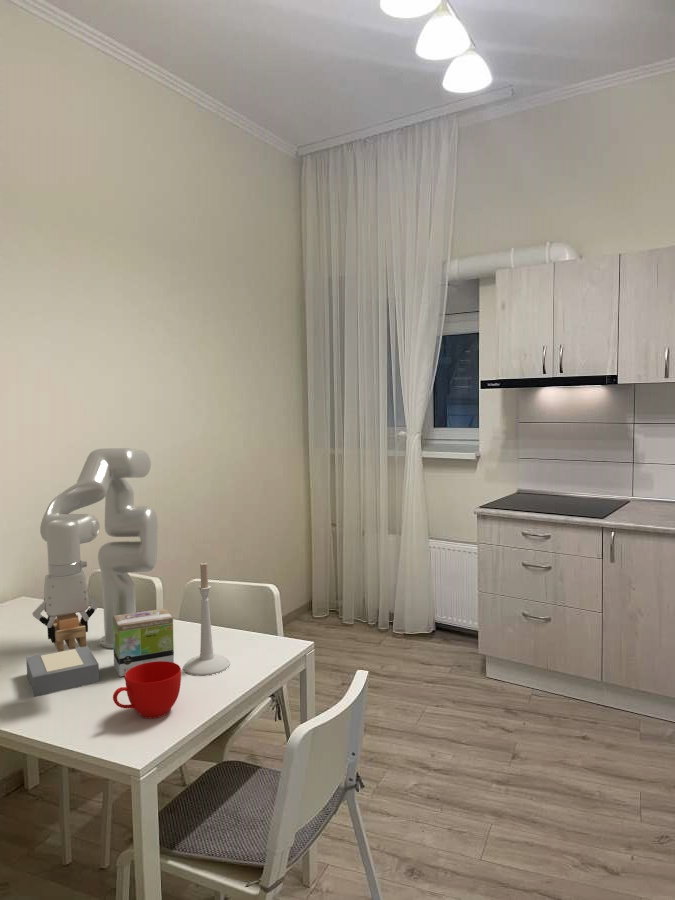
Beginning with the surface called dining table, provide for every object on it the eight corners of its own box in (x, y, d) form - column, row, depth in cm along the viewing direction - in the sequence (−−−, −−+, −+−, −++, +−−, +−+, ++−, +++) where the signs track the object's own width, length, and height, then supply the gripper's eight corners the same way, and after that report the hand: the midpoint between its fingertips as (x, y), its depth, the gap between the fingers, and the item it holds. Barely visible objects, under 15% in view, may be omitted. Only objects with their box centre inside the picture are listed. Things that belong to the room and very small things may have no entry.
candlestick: (184, 678, 176) (181, 569, 174) (183, 660, 189) (179, 558, 186) (232, 672, 180) (229, 565, 178) (227, 655, 192) (224, 555, 190)
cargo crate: (75, 622, 168) (74, 612, 168) (78, 628, 164) (78, 617, 164) (56, 625, 166) (56, 615, 166) (60, 631, 162) (59, 621, 162)
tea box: (119, 678, 177) (117, 625, 176) (113, 665, 186) (111, 614, 185) (175, 667, 184) (173, 616, 183) (166, 655, 193) (165, 606, 192)
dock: (88, 662, 188) (87, 644, 188) (99, 682, 175) (98, 663, 174) (27, 674, 180) (26, 656, 180) (33, 696, 167) (32, 676, 166)
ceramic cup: (100, 719, 154) (98, 678, 153) (162, 695, 166) (161, 656, 166) (130, 737, 145) (128, 694, 144) (193, 710, 158) (191, 670, 157)
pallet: (78, 632, 172) (77, 614, 171) (86, 646, 163) (85, 626, 162) (51, 638, 168) (50, 619, 168) (58, 651, 159) (56, 631, 159)
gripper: (97, 560, 172) (100, 627, 173) (25, 570, 163) (29, 640, 164) (103, 566, 165) (107, 635, 167) (28, 577, 156) (32, 650, 158)
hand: (68, 637), depth 165 cm, fingers closed on pallet, 6 cm apart
